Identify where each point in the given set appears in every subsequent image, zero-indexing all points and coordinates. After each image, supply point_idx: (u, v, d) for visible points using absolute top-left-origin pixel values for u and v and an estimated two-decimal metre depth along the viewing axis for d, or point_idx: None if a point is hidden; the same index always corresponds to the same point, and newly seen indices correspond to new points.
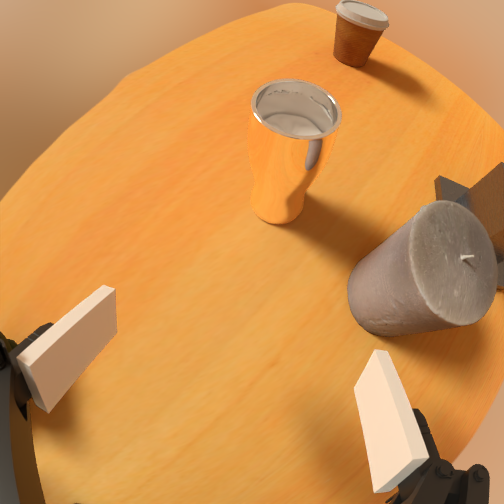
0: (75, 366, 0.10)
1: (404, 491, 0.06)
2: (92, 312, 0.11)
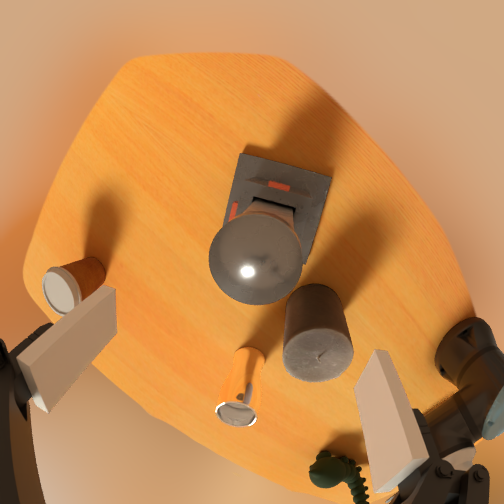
0: (75, 366, 0.10)
1: (404, 491, 0.06)
2: (92, 312, 0.11)
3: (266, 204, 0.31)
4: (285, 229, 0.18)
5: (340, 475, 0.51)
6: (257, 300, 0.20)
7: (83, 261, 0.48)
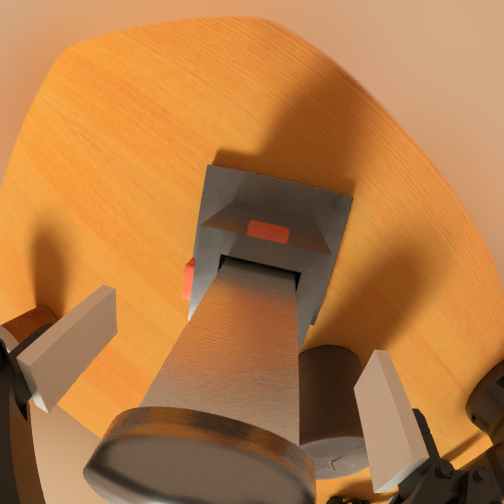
0: (75, 366, 0.10)
1: (404, 491, 0.06)
2: (92, 312, 0.11)
3: (244, 274, 0.16)
4: None
5: None
6: None
7: (31, 314, 0.33)
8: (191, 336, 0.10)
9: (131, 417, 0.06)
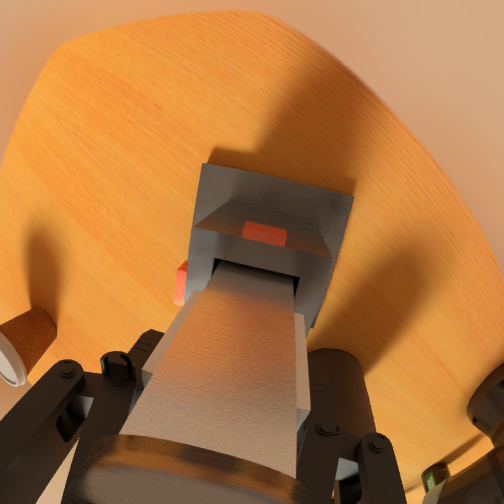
0: None
1: None
2: None
3: (238, 279, 0.15)
4: None
5: None
6: None
7: (26, 316, 0.32)
8: (179, 351, 0.09)
9: (110, 445, 0.05)
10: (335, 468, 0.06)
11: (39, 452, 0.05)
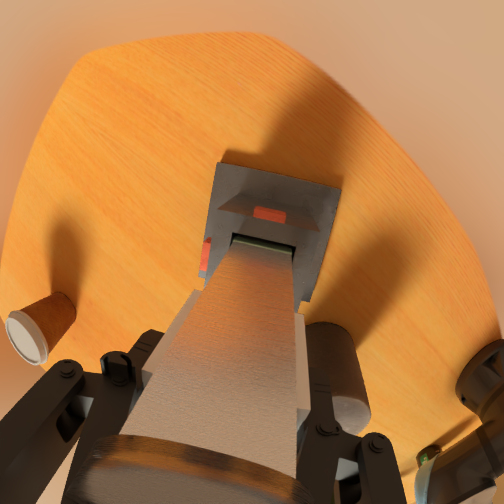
0: None
1: None
2: None
3: (238, 279, 0.15)
4: None
5: None
6: None
7: (48, 299, 0.37)
8: (179, 351, 0.09)
9: (110, 445, 0.05)
10: (335, 468, 0.06)
11: (39, 452, 0.05)
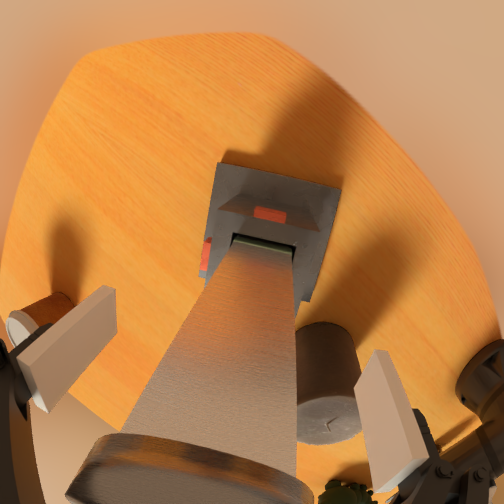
0: (75, 366, 0.10)
1: (404, 491, 0.06)
2: (92, 312, 0.11)
3: (239, 279, 0.15)
4: None
5: None
6: None
7: (48, 299, 0.38)
8: (179, 350, 0.09)
9: (111, 444, 0.05)
10: None
11: None
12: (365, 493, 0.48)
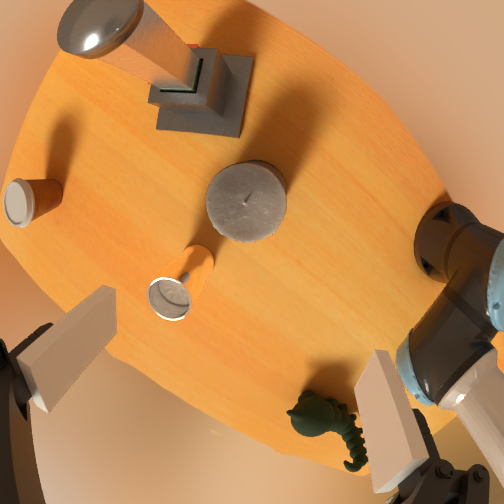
0: (75, 366, 0.10)
1: (404, 491, 0.06)
2: (92, 312, 0.11)
3: None
4: None
5: (326, 417, 0.49)
6: (89, 43, 0.12)
7: (42, 179, 0.45)
8: None
9: None
10: None
11: None
12: (346, 413, 0.56)
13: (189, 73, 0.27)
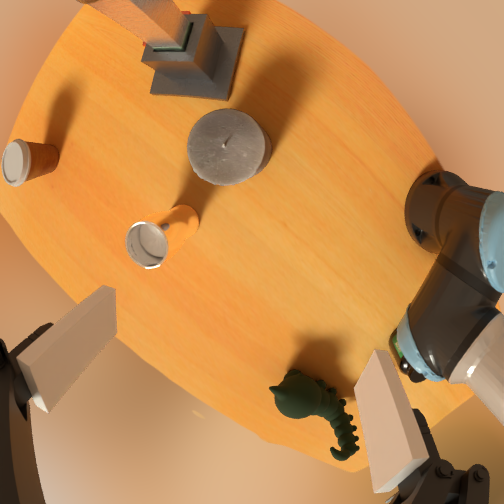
0: (75, 366, 0.10)
1: (404, 491, 0.06)
2: (92, 312, 0.11)
3: None
4: None
5: (312, 397, 0.48)
6: None
7: (40, 143, 0.44)
8: None
9: None
10: None
11: None
12: (334, 396, 0.55)
13: (179, 32, 0.27)
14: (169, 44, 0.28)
